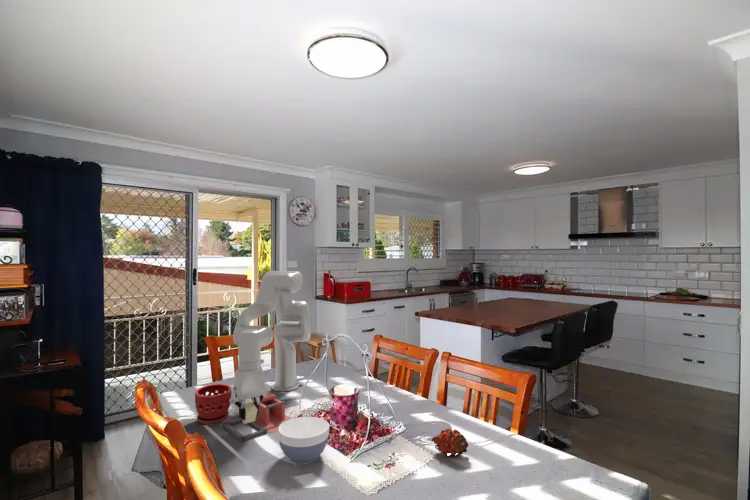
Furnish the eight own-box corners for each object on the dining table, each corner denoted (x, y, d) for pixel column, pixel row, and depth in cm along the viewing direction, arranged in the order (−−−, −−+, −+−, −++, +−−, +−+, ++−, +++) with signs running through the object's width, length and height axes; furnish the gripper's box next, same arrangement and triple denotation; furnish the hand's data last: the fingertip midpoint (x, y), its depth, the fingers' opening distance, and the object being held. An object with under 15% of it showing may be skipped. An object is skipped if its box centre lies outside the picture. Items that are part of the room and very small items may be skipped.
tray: (247, 421, 152) (247, 416, 152) (267, 435, 140) (267, 429, 140) (222, 428, 146) (222, 423, 146) (241, 444, 134) (241, 438, 134)
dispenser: (243, 417, 156) (243, 396, 156) (271, 409, 164) (271, 389, 164) (270, 436, 140) (270, 412, 140) (299, 426, 148) (300, 404, 148)
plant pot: (188, 420, 153) (189, 389, 153) (221, 410, 162) (222, 381, 162) (203, 431, 144) (204, 397, 144) (237, 420, 153) (237, 389, 154)
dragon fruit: (470, 465, 125) (434, 462, 130) (472, 439, 131) (438, 437, 136) (464, 449, 121) (426, 447, 126) (466, 424, 127) (430, 422, 132)
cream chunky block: (233, 405, 145) (235, 394, 144) (244, 402, 148) (246, 391, 146) (244, 424, 138) (246, 412, 137) (255, 420, 141) (257, 409, 140)
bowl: (285, 475, 115) (285, 442, 115) (272, 451, 129) (273, 421, 129) (336, 462, 122) (336, 431, 123) (319, 441, 137) (319, 413, 137)
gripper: (266, 359, 149) (265, 408, 149) (221, 367, 138) (221, 420, 137) (276, 363, 143) (275, 414, 143) (230, 371, 132) (229, 427, 132)
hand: (248, 416), depth 140 cm, fingers closed on cream chunky block, 4 cm apart
